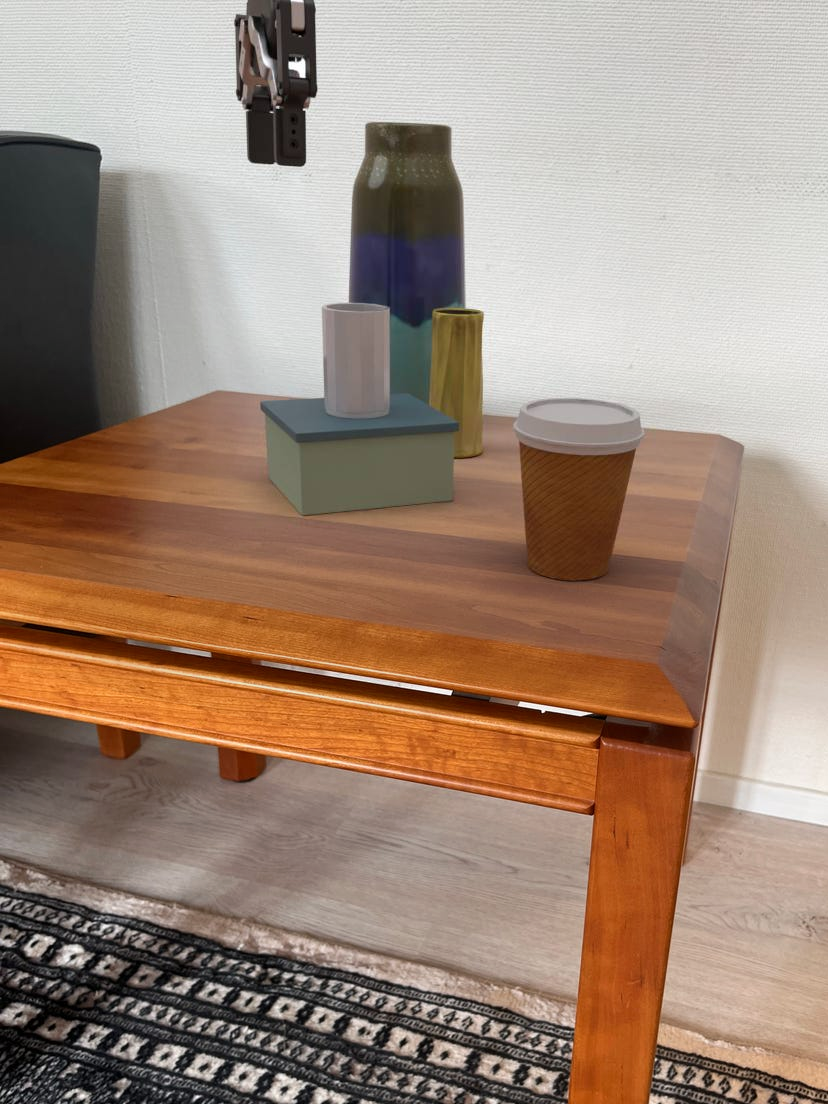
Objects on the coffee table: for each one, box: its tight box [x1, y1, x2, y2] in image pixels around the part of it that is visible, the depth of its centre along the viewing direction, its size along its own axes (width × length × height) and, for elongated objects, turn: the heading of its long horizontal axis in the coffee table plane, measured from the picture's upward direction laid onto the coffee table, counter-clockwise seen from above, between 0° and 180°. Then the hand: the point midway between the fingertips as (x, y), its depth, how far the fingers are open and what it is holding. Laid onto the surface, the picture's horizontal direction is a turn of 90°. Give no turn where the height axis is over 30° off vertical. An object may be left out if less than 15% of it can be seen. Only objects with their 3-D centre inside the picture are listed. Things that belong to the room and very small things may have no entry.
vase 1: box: [348, 121, 467, 405], centre depth 116 cm, size 14×14×31 cm
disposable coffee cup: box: [512, 397, 646, 581], centre depth 76 cm, size 10×10×12 cm
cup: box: [321, 302, 390, 419], centre depth 90 cm, size 6×6×9 cm
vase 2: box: [429, 307, 485, 459], centre depth 105 cm, size 6×6×14 cm
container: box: [259, 393, 459, 517], centre depth 93 cm, size 15×13×7 cm
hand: (275, 165), depth 78 cm, fingers open, 8 cm apart
